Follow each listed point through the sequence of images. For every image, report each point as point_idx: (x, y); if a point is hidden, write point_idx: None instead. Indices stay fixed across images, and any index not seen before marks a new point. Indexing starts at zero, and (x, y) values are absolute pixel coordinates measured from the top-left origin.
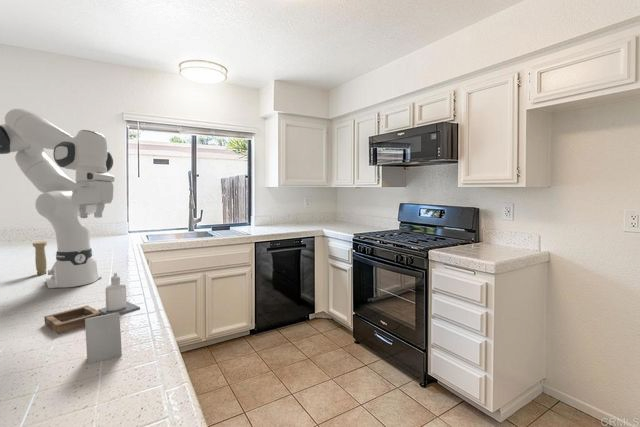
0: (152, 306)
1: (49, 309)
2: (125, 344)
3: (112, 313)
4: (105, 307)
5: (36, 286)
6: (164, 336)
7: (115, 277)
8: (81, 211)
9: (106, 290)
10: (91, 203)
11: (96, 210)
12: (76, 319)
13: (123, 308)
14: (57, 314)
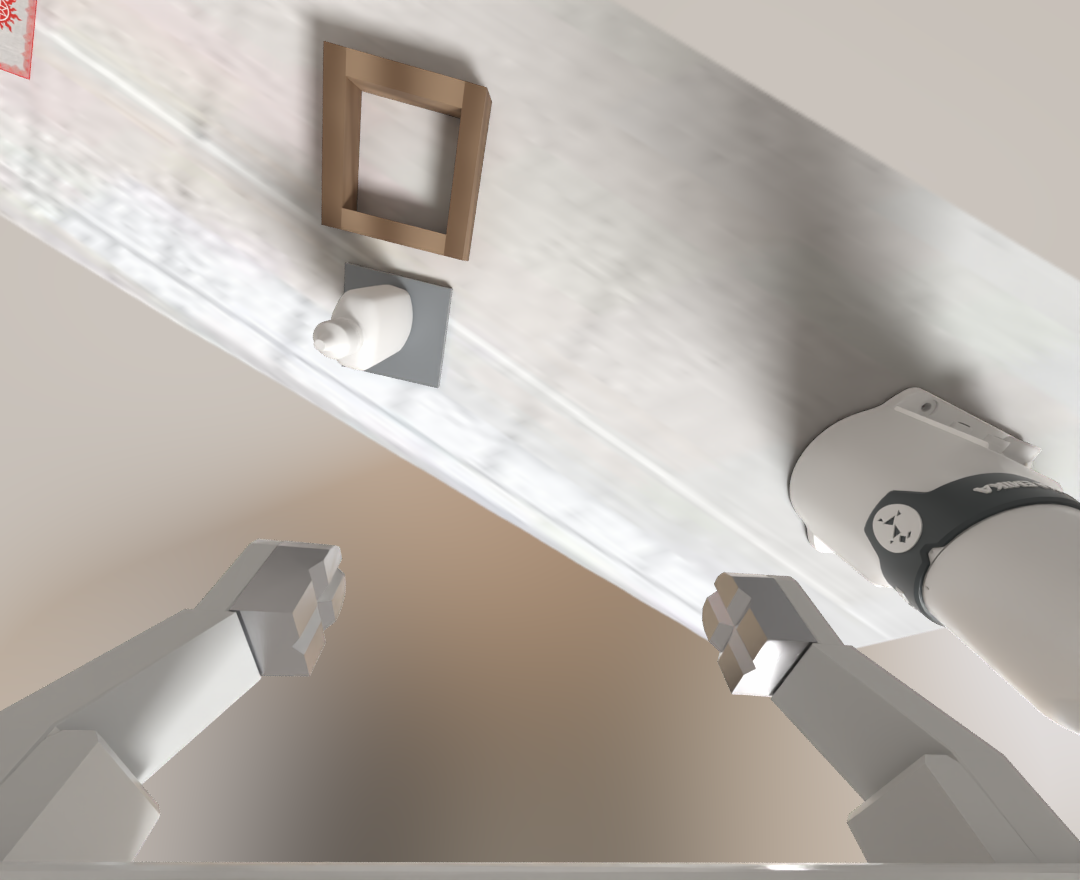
0: (332, 396)
1: (651, 223)
2: (58, 115)
3: (361, 282)
4: (446, 314)
5: (1002, 386)
6: (34, 222)
7: (315, 331)
8: (836, 684)
9: (357, 290)
10: (175, 863)
11: (155, 636)
12: (331, 127)
13: None
14: (460, 130)
